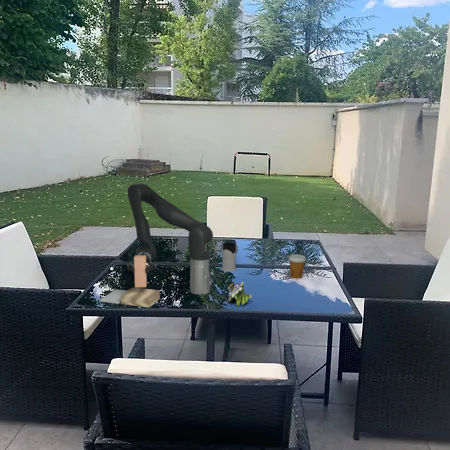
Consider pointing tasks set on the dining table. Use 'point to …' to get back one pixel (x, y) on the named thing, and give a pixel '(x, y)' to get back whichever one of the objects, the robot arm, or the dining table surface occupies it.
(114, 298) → the mat
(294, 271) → the disposable coffee cup
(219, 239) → the dining table surface
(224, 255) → the glass holder
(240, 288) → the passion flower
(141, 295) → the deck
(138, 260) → the tall tan block
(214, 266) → the dining table surface
